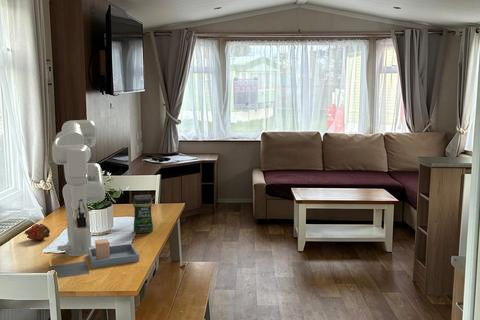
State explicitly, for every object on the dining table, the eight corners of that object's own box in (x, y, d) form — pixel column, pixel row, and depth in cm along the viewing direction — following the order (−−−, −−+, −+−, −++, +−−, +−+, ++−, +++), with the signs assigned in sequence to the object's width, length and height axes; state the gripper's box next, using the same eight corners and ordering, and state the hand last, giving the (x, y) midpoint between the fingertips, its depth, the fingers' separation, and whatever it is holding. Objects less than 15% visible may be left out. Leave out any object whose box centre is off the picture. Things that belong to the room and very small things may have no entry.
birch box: (75, 229, 188) (74, 209, 186) (73, 226, 192) (72, 206, 191) (88, 228, 190) (87, 207, 188) (86, 224, 194) (85, 204, 193)
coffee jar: (134, 234, 239) (132, 197, 236) (133, 229, 247) (131, 193, 244) (154, 232, 242) (152, 196, 238) (152, 228, 249) (151, 192, 246)
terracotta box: (97, 262, 201) (96, 243, 199) (96, 258, 205) (95, 240, 204) (110, 260, 202) (109, 242, 201) (108, 256, 207) (107, 238, 206)
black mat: (51, 281, 184) (51, 279, 184) (50, 268, 197) (49, 266, 197) (89, 275, 190) (89, 273, 189) (86, 262, 202) (85, 261, 202)
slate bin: (92, 269, 195) (92, 261, 194) (88, 256, 209) (88, 249, 208) (139, 262, 202) (138, 254, 201) (132, 250, 216) (131, 243, 216)
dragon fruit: (52, 243, 231) (27, 247, 232) (55, 229, 237) (31, 232, 238) (44, 233, 225) (19, 237, 226) (48, 218, 231) (23, 222, 231)
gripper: (65, 176, 193) (67, 220, 197) (70, 185, 178) (73, 232, 182) (84, 174, 197) (87, 218, 200) (91, 183, 182) (94, 230, 185)
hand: (80, 224), depth 191 cm, fingers closed on birch box, 5 cm apart
